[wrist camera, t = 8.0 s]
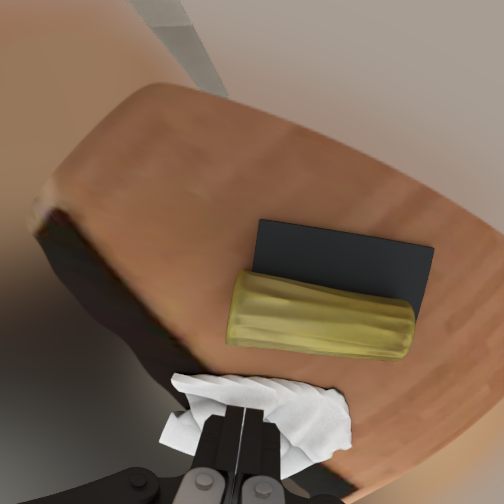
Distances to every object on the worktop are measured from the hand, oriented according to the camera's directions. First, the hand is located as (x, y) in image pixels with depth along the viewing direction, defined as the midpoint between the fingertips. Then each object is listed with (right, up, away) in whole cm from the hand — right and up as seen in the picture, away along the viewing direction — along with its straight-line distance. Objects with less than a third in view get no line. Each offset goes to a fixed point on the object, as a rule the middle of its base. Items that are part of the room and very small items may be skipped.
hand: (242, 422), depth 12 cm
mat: (+8, +3, +16) cm, 18 cm away
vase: (-1, +3, +13) cm, 13 cm away
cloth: (0, -12, +20) cm, 23 cm away
